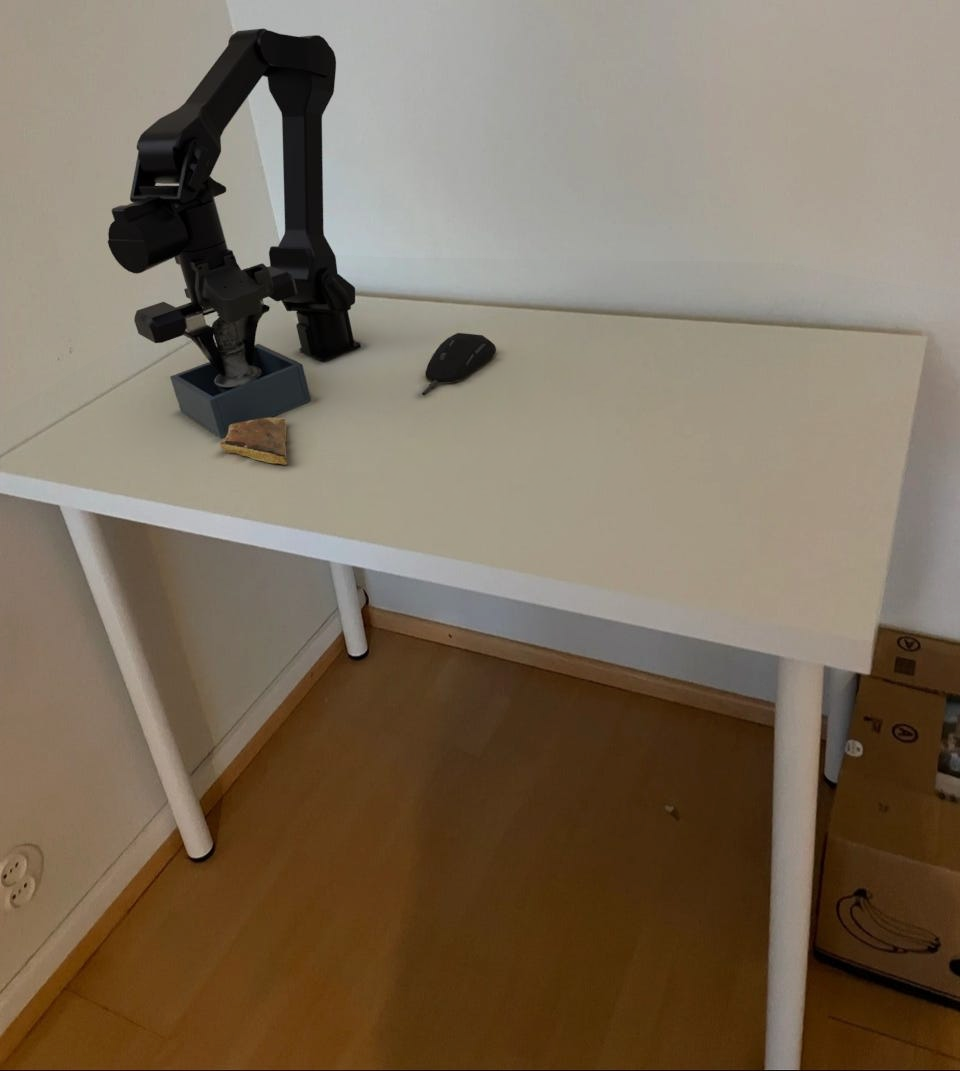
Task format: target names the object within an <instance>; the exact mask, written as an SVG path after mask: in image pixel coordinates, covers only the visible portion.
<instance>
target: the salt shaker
mask: <svg viewBox="0 0 960 1071" xmlns="http://www.w3.org/2000/svg"><path fill="white" fill-rule="evenodd" d="M216 316H218V318H217V319H215V320H214V321H213V322H212V324H211V327H213V328H214V333H213V338H214V341H215V343H216V346H217V349H218V351H219V354H220V357H221V360H222V362H223V365H224V370H225V375H224V376H221V375H220V374H219V375H218V376H217V377H216V378H215V380H214V382H215V384H216V385H217V386H219V389H220V391H221V392H222V393H223V392H226V391H228V390H231V389H233V388H236V387H238V386H241V385H244V384H246V383H249V382H251V381H254V380H256V379H259V378H260V375H261V373H262V372H261V369H259V368H258V367H255V366H249V364H248V363H247V361H246V359H245V355H244V352H243V347H244V343H243V342H240V340H239V336H238V332H237V329H236V325H235V322H232V323H229V322H226V321H224V320H223V319H222V318H221V316H220V315H219V314H218V313H217V315H216Z"/></svg>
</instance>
